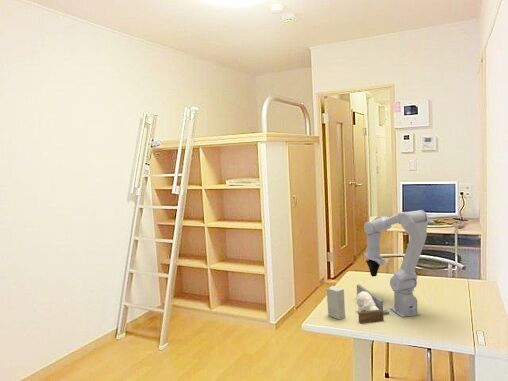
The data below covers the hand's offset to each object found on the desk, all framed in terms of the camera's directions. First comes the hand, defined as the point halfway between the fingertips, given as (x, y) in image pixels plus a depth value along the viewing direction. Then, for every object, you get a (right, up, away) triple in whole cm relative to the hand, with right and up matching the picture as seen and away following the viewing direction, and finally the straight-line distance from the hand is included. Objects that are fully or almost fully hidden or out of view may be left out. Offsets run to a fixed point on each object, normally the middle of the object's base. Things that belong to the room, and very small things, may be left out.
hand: (373, 275), depth 184 cm
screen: (-3, -11, -8) cm, 14 cm away
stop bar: (-8, -13, -24) cm, 29 cm away
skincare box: (-21, -13, -18) cm, 31 cm away
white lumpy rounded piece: (-7, -13, -17) cm, 23 cm away
